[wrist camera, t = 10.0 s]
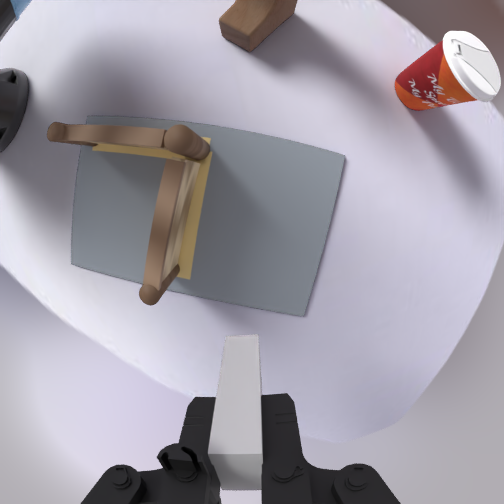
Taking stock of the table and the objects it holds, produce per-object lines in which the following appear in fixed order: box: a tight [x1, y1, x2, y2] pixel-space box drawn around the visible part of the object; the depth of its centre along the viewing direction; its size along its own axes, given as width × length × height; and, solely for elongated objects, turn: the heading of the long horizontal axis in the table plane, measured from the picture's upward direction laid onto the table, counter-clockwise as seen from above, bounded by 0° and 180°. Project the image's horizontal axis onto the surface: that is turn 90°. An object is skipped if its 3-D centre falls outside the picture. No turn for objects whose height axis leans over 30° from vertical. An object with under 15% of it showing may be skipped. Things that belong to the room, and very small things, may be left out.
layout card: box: [71, 116, 345, 316], centre depth 31 cm, size 32×20×1 cm, turn 78°
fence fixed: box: [47, 122, 210, 160], centre depth 24 cm, size 16×2×9 cm, turn 78°
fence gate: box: [139, 157, 200, 305], centre depth 27 cm, size 14×2×8 cm, turn 164°
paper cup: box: [395, 31, 501, 111], centre depth 20 cm, size 8×8×14 cm
